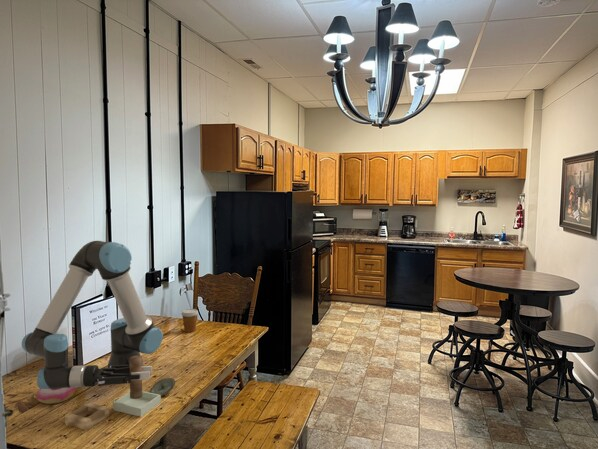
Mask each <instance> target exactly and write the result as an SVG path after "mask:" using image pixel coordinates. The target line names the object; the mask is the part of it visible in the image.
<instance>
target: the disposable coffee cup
mask: <svg viewBox="0 0 598 449" xmlns="http://www.w3.org/2000/svg"><path fill="white" fill-rule="evenodd" d="M198 315H199V311H198V310H197V309H196V308H188V309H184V310H182V312H181V316H182V323H183V329H184V332H185V333H188V334H189V333H190V334H191V333H194V332H196V330H197V322H198Z"/></svg>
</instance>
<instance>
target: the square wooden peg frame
mask: <svg viewBox="0 0 598 449" xmlns="http://www.w3.org/2000/svg"><path fill="white" fill-rule="evenodd" d="M87 415H89V416H87ZM86 416H87V417H86ZM107 417H110V407H107V406H103V405H99V404H95V403H91V402H86V403H85V404H84V405H82V406H80V407H79V408H76V409H75V410H73V411H71V412H70V413H67V414H66V415H65V416H64V422H65V423H64V424H65V425H66V424H67V425H66V426H71V427H73V426H74V428H78V429H81V430H85V431H87V430H90V429H91V428H93V427H94V426H95V425H97V424H98V423H100V422H101V421H104V420H105V419H106V418H107Z"/></svg>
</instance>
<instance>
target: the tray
mask: <svg viewBox="0 0 598 449" xmlns="http://www.w3.org/2000/svg"><path fill="white" fill-rule="evenodd" d="M161 403H162V396H161V395H158V394H154V393H150V391H144V390H142V397H140V398H138V399H131V398H130V391H129V392H127V393H126V394H124V395H123V396H120V397H119V398H117V399H116V400H115V401H113V402H112V406H113V408H112V409H113V411H114V412H120V413H124V414H127V415H131V416H136V417H143V416H145V415H146V414H147V413H149V411H151V410H153V409H154V408H155V407H157V406H158V405H160V404H161Z"/></svg>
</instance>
